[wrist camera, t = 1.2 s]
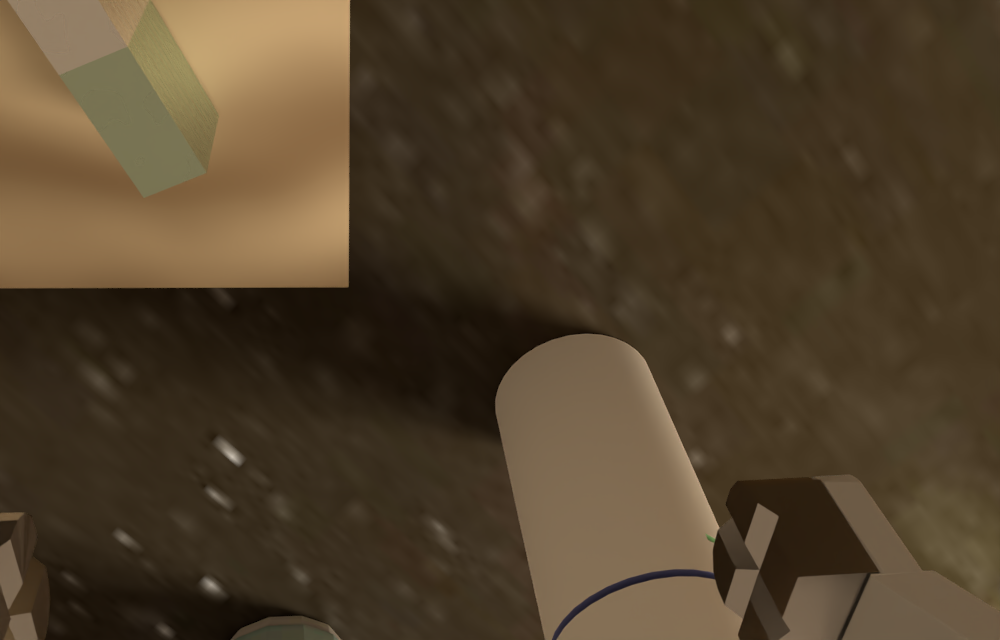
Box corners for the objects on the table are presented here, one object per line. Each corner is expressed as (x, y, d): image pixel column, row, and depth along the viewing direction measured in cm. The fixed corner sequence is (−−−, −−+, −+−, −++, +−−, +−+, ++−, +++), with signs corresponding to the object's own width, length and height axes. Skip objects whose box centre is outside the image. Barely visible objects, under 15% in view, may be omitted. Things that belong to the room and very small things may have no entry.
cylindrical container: (542, 313, 39) (773, 1036, 19) (682, 360, 41) (1012, 1036, 22) (467, 433, 42) (596, 1154, 22) (600, 469, 45) (821, 1141, 25)
